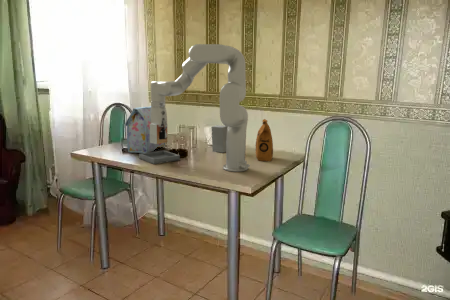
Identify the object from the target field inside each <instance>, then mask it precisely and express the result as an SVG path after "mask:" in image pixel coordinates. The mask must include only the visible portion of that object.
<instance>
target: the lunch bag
mask: <svg viewBox="0 0 450 300" xmlns="http://www.w3.org/2000/svg"><path fill="white" fill-rule="evenodd" d="M150 122H151V105H150V106H141V107H133V108H132V111H131V113H130V114H129V116H128V118H127V119H126V121H125V123H124V125H125V127H126V144H127V145H126V147H127V152H128V153H130V154H131V153H136V154H137V153H139V154H142V153H149V152H155V151H156V150H155V149H156V148H157V147H158V146H161V145H163V146H164V147H165V145H166V143H160V144H154V143H150V124H151V123H150ZM154 150H155V151H154Z"/></svg>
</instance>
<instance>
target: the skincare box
mask: <svg viewBox="0 0 450 300" xmlns="http://www.w3.org/2000/svg"><path fill="white" fill-rule="evenodd" d="M227 128H228V127H227V126H225V125H219V124H218V125H217V124H216V125H213V126H211V128H210V129H211V144H212V145H211V147H212V149H211V150H212V152H214V153H215V152H216V153H226V145H227Z"/></svg>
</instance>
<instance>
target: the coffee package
mask: <svg viewBox="0 0 450 300" xmlns="http://www.w3.org/2000/svg"><path fill="white" fill-rule="evenodd" d="M261 122H262V125H261V126H260V128H259V129H258V131H257V135H256V139H255V140H256V141H255V156H256V157H255V158H256V159H257V161H258V162H260V161H261V162H272V159H273V158H274V157H273V156H274V142H273V135H272V131H271V128H270V125H269V124H268V120H267V119H265V118H264V119H262V120H261Z"/></svg>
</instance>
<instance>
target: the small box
mask: <svg viewBox="0 0 450 300" xmlns="http://www.w3.org/2000/svg"><path fill="white" fill-rule="evenodd" d="M161 126H163V125H161ZM162 128H163V127H161V129H162ZM159 132H160V129H159V126H158V124H150V143H154V144H160V143H165V144H166V143H168V127H167V128H166V131H165V139H159Z"/></svg>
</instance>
